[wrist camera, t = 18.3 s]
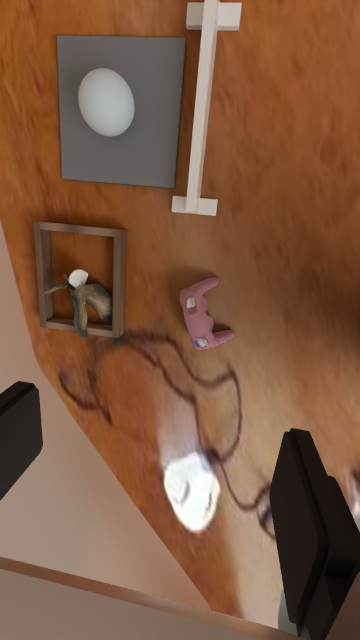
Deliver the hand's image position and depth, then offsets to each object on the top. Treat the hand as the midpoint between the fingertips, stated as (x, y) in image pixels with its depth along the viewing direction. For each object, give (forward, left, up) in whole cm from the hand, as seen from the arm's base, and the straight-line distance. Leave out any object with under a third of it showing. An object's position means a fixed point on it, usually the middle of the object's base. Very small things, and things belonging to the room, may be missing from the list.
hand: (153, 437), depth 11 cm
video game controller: (-1, +4, -34) cm, 34 cm away
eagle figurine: (+18, +5, -34) cm, 38 cm away
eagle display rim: (+19, +2, -33) cm, 38 cm away
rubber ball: (+14, -20, -33) cm, 41 cm away
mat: (+14, -20, -33) cm, 41 cm away
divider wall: (+3, -20, -33) cm, 39 cm away
